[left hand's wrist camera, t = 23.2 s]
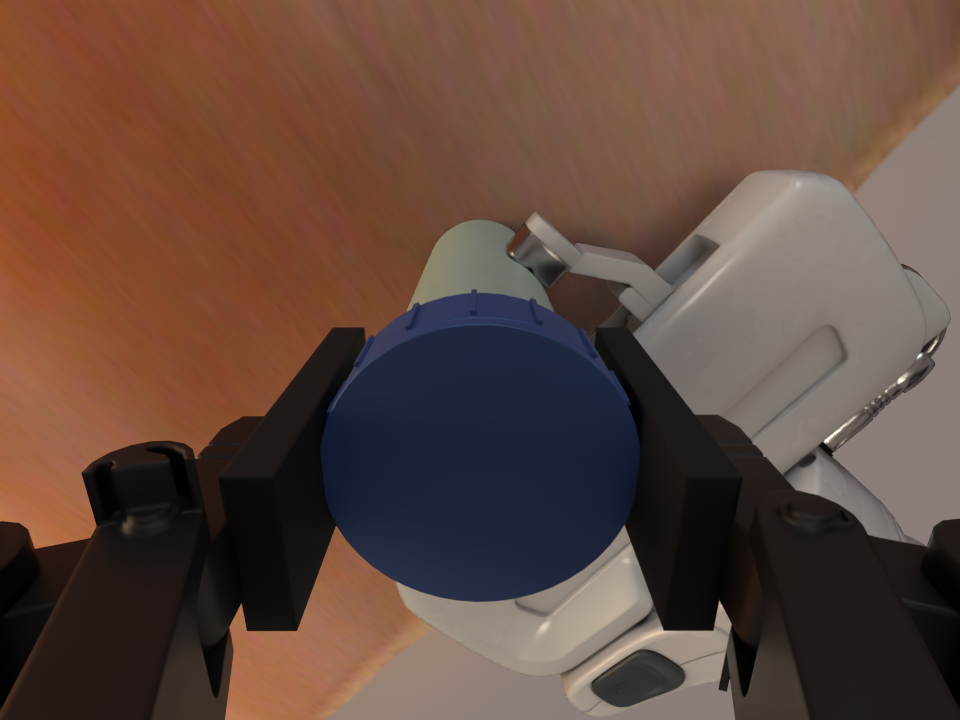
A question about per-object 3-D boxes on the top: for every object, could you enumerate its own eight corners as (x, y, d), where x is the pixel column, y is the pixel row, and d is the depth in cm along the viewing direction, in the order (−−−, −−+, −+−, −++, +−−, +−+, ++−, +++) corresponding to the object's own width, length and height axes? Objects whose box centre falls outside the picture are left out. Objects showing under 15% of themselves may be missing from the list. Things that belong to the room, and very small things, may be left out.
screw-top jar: (547, 239, 25) (637, 374, 11) (512, 335, 26) (549, 564, 12) (445, 204, 24) (396, 299, 10) (415, 305, 26) (337, 509, 12)
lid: (514, 229, 11) (521, 249, 9) (668, 450, 12) (703, 507, 10) (284, 396, 12) (247, 445, 10) (453, 577, 13) (449, 648, 12)
